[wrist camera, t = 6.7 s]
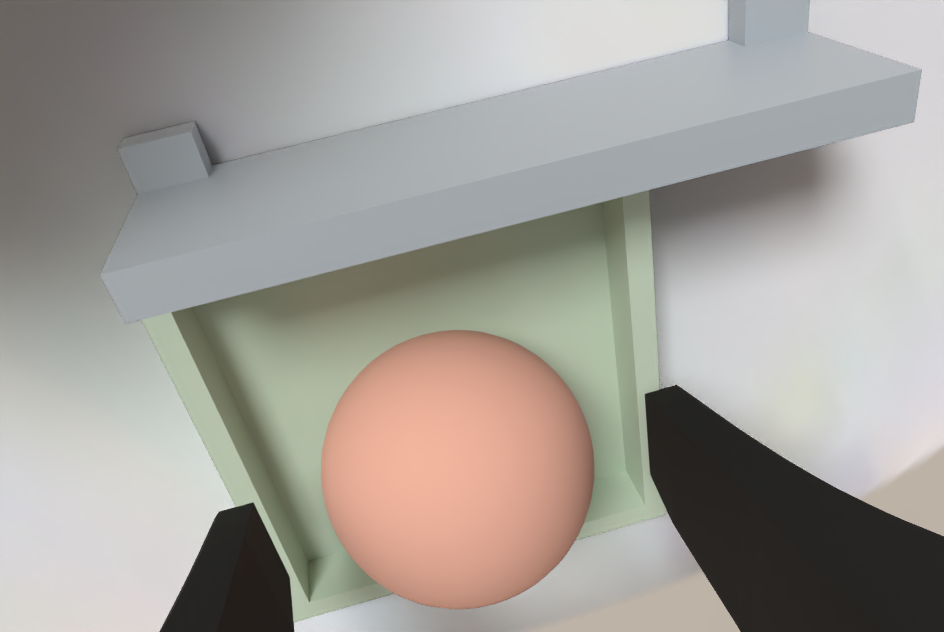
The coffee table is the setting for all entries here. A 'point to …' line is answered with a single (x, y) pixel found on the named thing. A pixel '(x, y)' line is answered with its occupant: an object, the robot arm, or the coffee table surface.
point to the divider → (489, 161)
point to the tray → (405, 317)
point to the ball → (457, 469)
